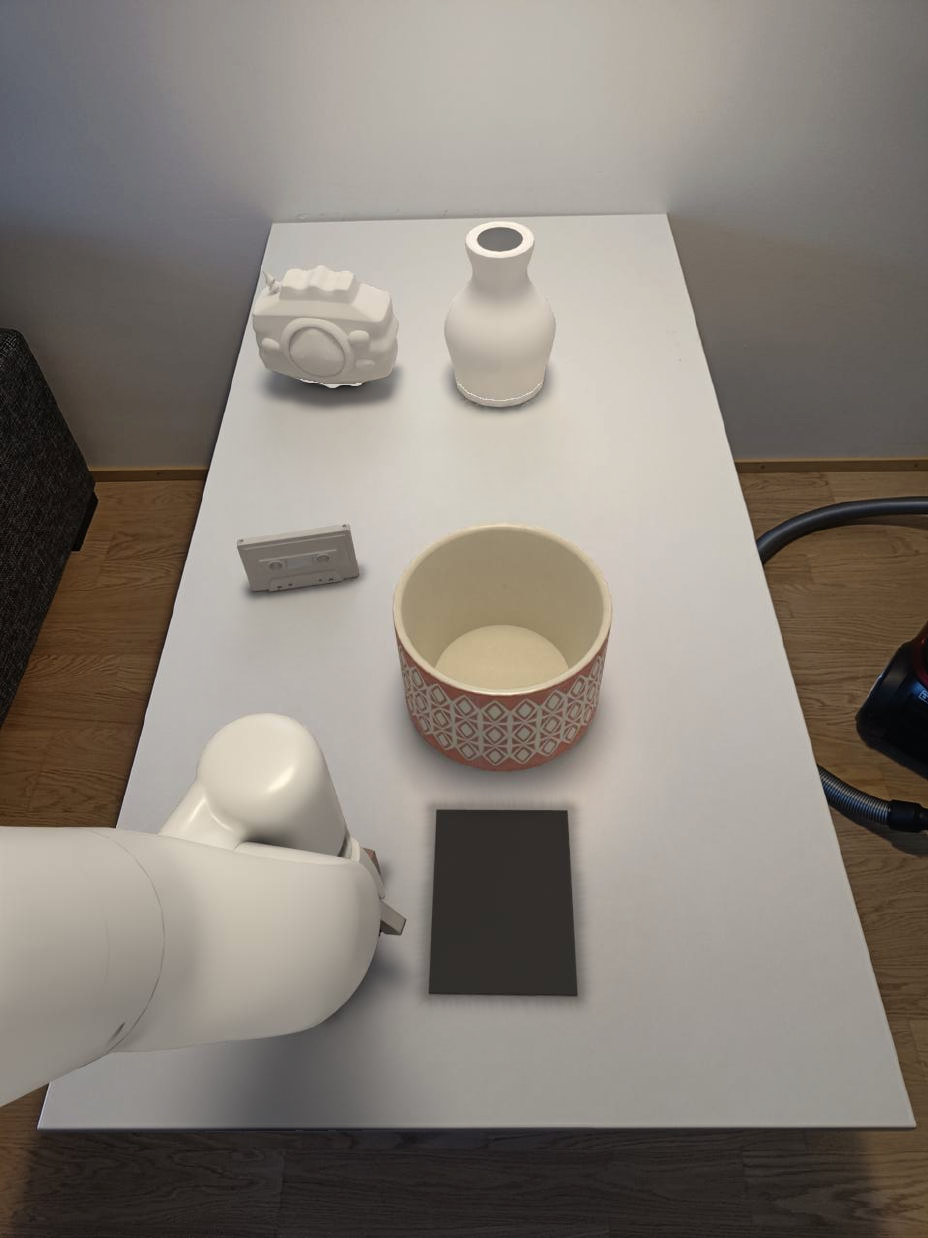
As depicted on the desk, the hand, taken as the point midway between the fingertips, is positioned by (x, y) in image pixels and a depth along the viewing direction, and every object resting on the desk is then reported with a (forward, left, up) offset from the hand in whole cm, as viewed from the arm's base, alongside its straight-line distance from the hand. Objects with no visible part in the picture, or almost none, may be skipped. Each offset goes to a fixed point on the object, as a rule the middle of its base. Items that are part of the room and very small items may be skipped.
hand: (333, 930), depth 74 cm
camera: (+69, +28, -1) cm, 74 cm away
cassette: (+35, +18, -1) cm, 39 cm away
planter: (+27, -7, -1) cm, 28 cm away
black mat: (+7, -13, 0) cm, 15 cm away
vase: (+75, +7, -1) cm, 75 cm away
